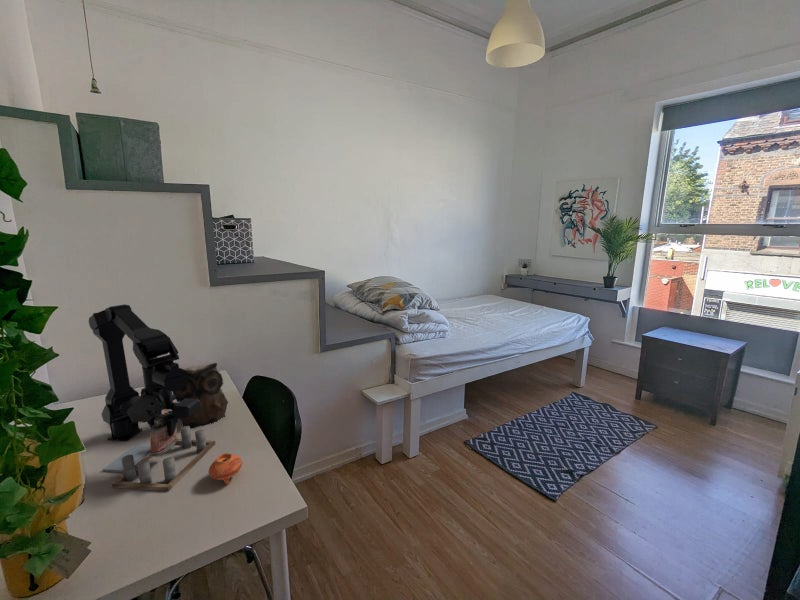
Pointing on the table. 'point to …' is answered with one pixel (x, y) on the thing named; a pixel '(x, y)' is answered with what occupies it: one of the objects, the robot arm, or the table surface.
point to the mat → (136, 451)
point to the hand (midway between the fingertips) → (164, 435)
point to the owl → (203, 395)
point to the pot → (225, 467)
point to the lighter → (161, 437)
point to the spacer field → (168, 464)
